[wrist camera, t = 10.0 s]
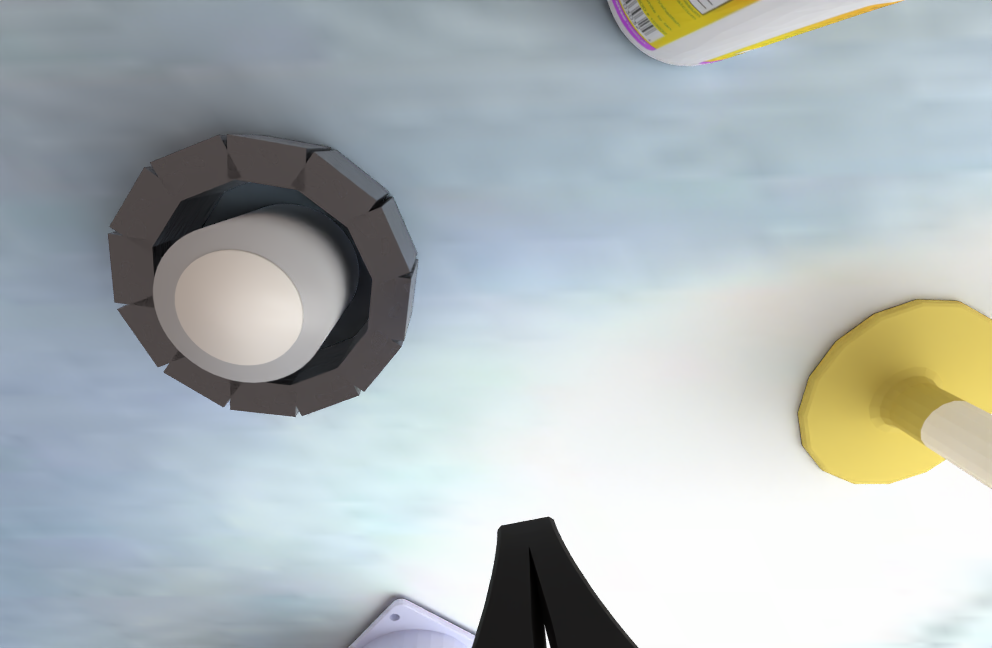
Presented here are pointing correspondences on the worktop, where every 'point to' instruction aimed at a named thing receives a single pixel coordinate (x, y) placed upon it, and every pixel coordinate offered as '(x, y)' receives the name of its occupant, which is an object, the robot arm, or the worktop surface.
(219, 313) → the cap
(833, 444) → the candle
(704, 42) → the supplement bottle
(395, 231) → the segmented grey ring
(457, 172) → the worktop surface
